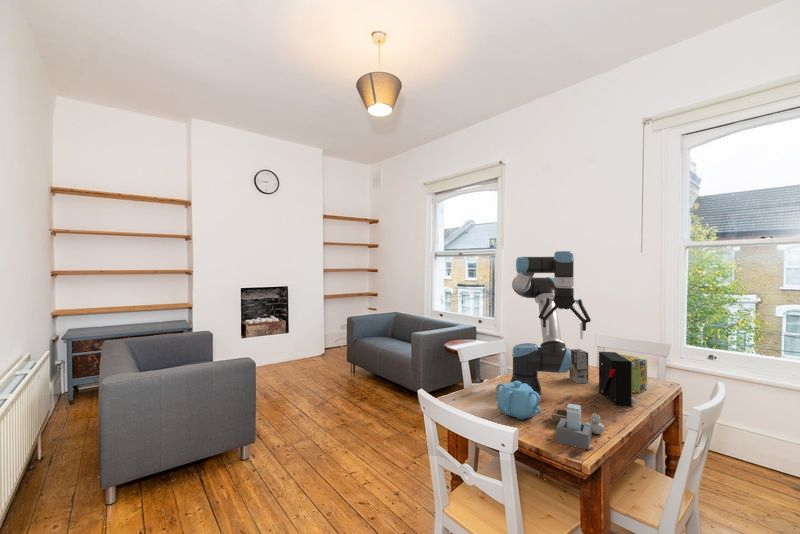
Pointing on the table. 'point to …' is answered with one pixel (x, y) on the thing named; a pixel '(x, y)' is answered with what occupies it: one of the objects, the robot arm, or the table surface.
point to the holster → (558, 415)
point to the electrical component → (616, 378)
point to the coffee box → (579, 366)
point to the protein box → (638, 373)
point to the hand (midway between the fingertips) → (564, 336)
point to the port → (573, 434)
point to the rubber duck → (596, 424)
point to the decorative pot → (517, 400)
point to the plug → (574, 417)
